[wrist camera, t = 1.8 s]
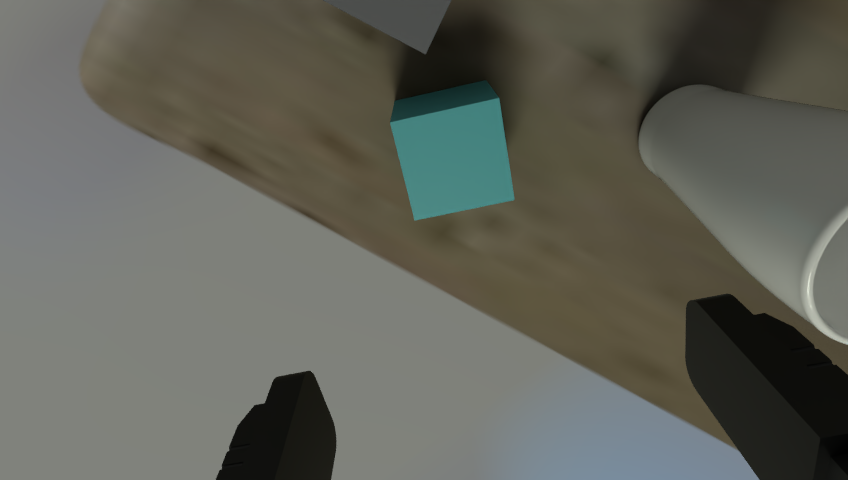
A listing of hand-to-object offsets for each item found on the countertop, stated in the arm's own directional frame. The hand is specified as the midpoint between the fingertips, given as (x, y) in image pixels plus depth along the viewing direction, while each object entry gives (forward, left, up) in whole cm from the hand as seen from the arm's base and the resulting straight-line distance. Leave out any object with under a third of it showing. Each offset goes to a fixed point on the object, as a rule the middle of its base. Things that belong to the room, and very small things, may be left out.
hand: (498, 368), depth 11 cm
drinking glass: (-1, +13, -20) cm, 23 cm away
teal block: (0, 0, -19) cm, 19 cm away
